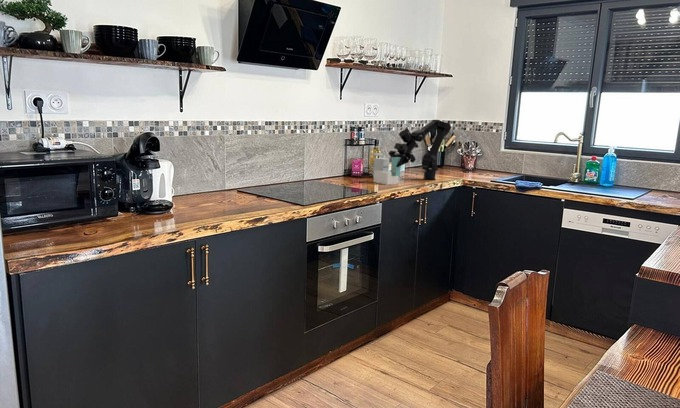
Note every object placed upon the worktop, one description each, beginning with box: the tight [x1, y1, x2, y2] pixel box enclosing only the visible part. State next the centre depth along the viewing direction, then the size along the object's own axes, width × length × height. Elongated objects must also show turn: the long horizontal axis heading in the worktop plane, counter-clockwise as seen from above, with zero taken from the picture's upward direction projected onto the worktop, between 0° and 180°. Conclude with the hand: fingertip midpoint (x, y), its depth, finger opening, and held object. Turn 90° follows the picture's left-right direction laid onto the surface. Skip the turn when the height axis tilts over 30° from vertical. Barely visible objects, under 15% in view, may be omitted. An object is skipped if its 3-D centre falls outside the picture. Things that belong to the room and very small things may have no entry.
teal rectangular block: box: [389, 157, 402, 178], centre depth 308 cm, size 6×4×12 cm
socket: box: [373, 170, 400, 186], centre depth 305 cm, size 10×12×7 cm
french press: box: [370, 137, 384, 176], centre depth 340 cm, size 10×12×25 cm
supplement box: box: [372, 157, 390, 179], centre depth 328 cm, size 7×7×13 cm
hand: (394, 166), depth 307 cm, fingers closed on teal rectangular block, 4 cm apart
